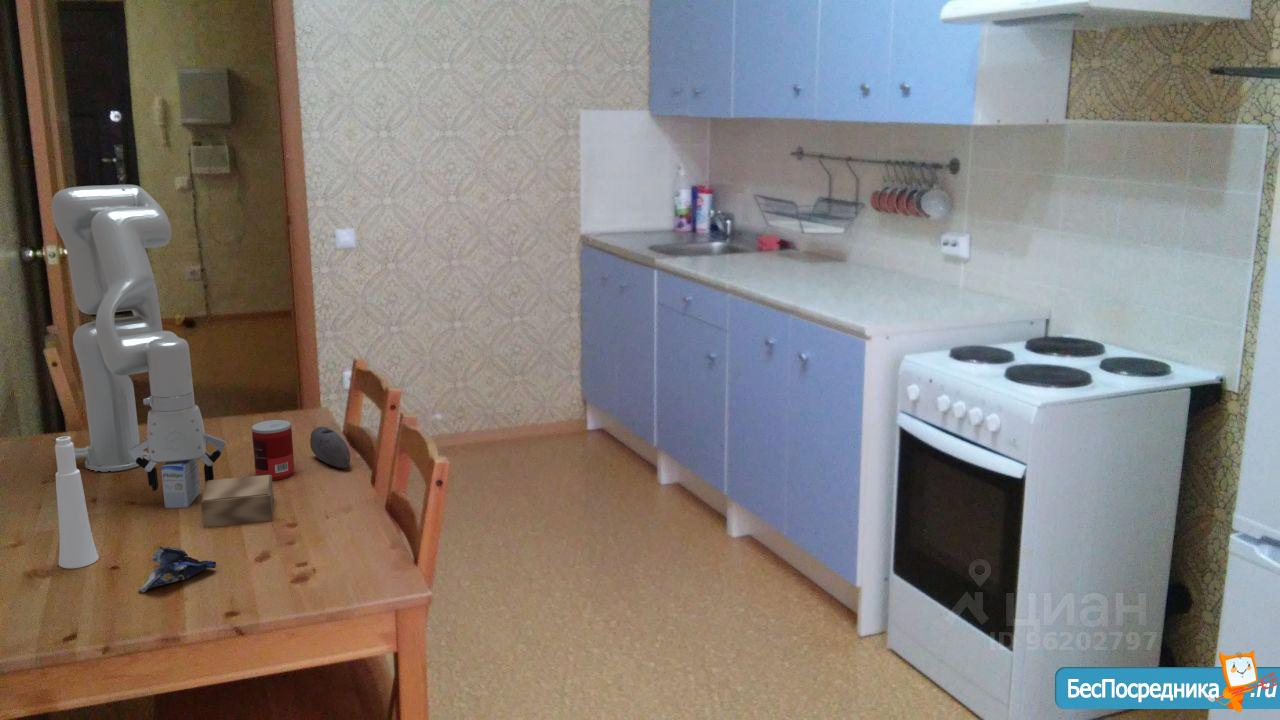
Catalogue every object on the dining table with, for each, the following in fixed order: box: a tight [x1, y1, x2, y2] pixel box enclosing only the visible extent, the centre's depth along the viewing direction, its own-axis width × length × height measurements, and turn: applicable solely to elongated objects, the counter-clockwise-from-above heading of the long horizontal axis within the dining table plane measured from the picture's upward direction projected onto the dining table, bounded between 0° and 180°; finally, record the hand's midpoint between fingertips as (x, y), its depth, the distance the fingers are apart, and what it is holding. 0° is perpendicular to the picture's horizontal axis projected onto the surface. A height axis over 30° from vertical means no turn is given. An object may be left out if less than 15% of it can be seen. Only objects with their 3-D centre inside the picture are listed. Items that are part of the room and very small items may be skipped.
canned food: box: [251, 419, 295, 482], centre depth 223 cm, size 8×8×11 cm
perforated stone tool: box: [309, 426, 351, 469], centre depth 231 cm, size 15×5×7 cm, turn 37°
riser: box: [200, 475, 275, 529], centre depth 202 cm, size 12×12×5 cm
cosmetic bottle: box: [54, 436, 99, 570], centre depth 178 cm, size 6×6×22 cm
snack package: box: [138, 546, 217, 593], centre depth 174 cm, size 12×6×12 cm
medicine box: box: [160, 459, 201, 509], centre depth 208 cm, size 8×4×9 cm, turn 5°
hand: (182, 486), depth 208 cm, fingers open, 9 cm apart
